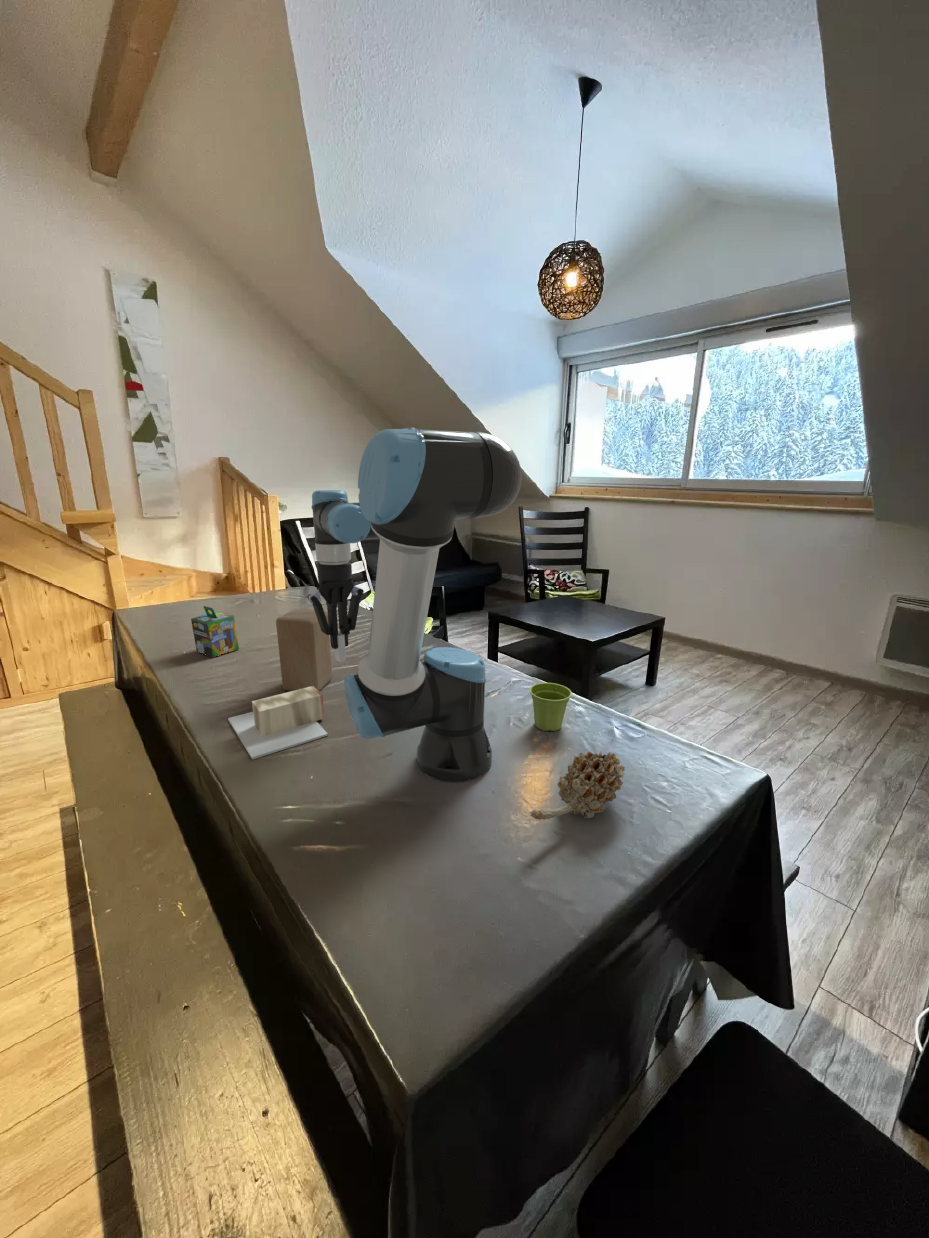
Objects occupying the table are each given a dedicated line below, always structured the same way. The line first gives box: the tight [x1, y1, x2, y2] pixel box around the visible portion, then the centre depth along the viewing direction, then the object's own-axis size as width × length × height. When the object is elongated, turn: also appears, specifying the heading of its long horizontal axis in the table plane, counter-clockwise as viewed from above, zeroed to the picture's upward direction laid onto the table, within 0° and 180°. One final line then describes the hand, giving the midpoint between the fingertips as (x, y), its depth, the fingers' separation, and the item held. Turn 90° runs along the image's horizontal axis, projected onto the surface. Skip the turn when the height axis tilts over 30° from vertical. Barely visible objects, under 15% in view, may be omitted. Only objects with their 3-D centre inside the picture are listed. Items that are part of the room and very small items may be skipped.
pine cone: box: [528, 751, 626, 821], centre depth 85 cm, size 22×10×10 cm, turn 135°
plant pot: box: [529, 682, 573, 732], centre depth 116 cm, size 9×9×9 cm
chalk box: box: [190, 605, 240, 658], centre depth 157 cm, size 9×9×15 cm
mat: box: [227, 711, 329, 760], centre depth 114 cm, size 20×16×1 cm
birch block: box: [251, 686, 325, 736], centre depth 115 cm, size 6×6×14 cm
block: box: [275, 608, 333, 692], centre depth 133 cm, size 10×10×20 cm
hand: (340, 660), depth 120 cm, fingers closed
